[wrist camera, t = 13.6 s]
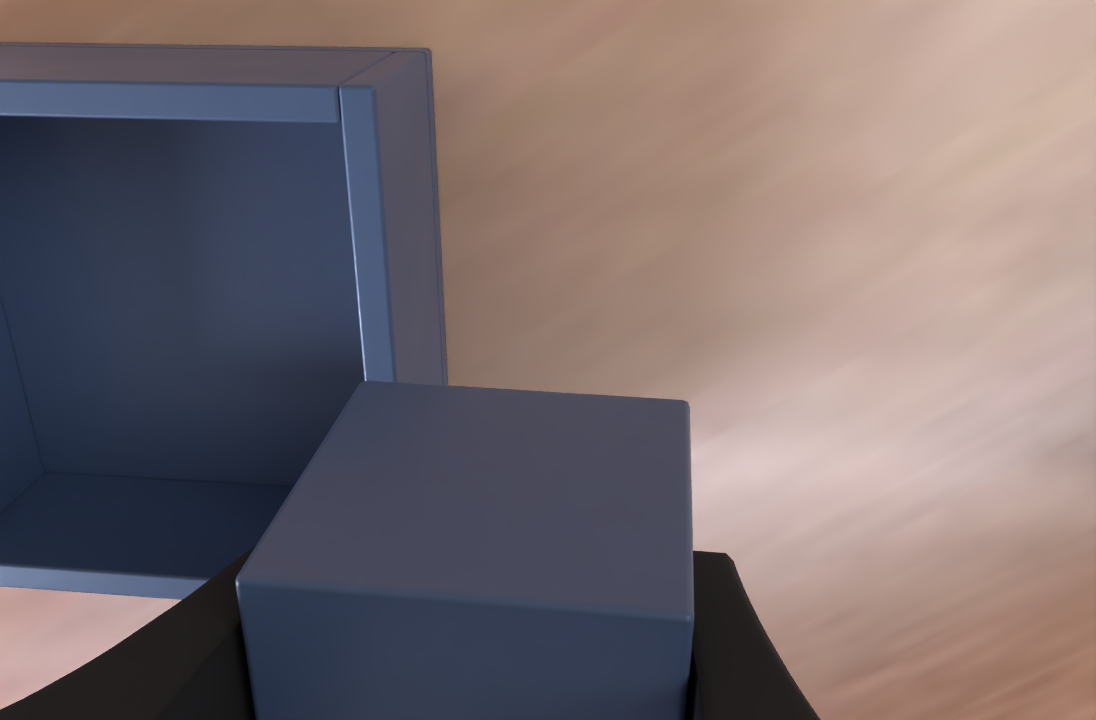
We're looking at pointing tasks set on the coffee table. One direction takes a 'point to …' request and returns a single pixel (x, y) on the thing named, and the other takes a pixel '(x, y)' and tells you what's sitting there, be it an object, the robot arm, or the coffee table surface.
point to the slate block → (479, 562)
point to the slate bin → (198, 291)
